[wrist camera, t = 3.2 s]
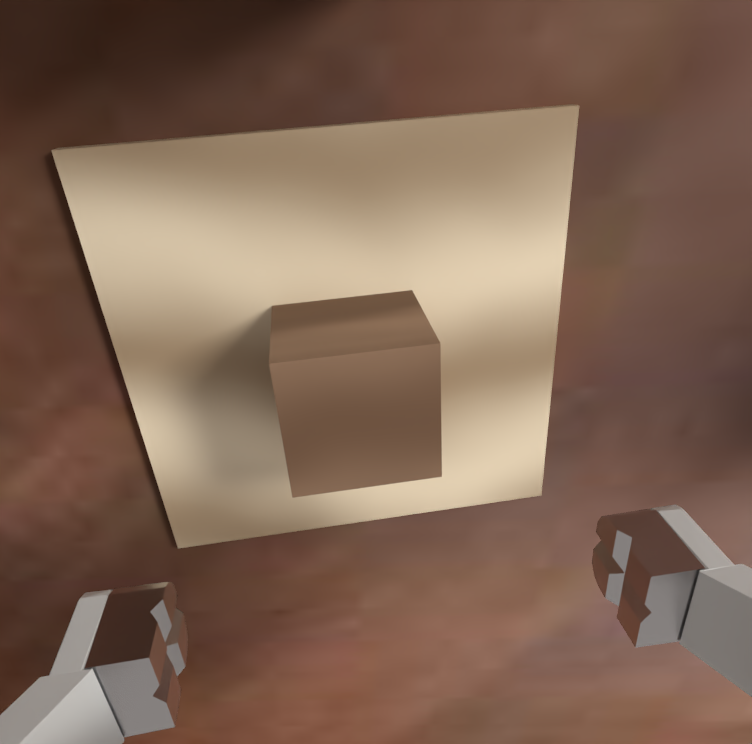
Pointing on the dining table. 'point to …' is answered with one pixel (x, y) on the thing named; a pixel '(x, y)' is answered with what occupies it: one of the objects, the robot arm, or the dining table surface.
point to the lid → (333, 312)
